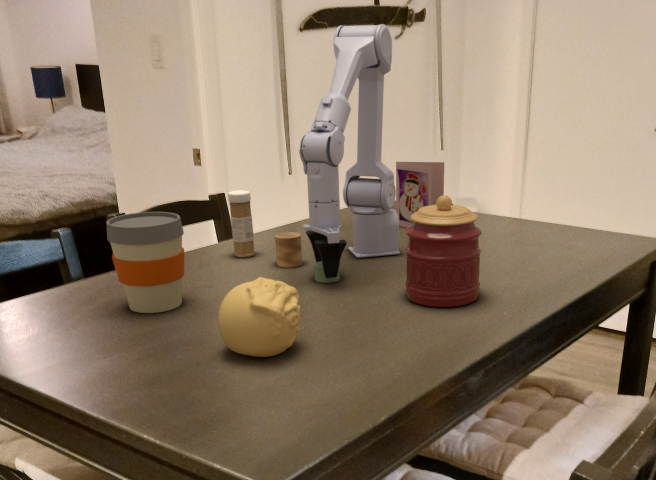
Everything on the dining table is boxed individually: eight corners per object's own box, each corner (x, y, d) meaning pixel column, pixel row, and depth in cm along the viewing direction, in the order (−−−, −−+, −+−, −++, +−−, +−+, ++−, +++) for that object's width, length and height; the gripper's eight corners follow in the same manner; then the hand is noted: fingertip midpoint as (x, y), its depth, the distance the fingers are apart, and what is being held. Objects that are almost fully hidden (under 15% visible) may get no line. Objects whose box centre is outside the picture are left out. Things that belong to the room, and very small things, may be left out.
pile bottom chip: (299, 259, 159) (299, 245, 157) (304, 266, 154) (303, 251, 153) (275, 261, 157) (274, 247, 156) (279, 268, 153) (278, 253, 152)
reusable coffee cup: (103, 312, 131) (88, 225, 124) (147, 290, 141) (135, 209, 135) (164, 319, 126) (152, 230, 120) (205, 297, 137) (196, 213, 131)
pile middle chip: (293, 245, 158) (292, 230, 157) (306, 250, 154) (305, 235, 153) (271, 249, 155) (270, 234, 154) (284, 254, 151) (282, 239, 150)
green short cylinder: (336, 274, 148) (336, 259, 147) (342, 281, 144) (342, 266, 143) (312, 277, 147) (311, 261, 146) (317, 284, 143) (316, 268, 142)
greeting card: (393, 225, 185) (393, 162, 179) (414, 220, 190) (415, 158, 183) (428, 233, 177) (429, 167, 171) (449, 227, 182) (451, 163, 176)
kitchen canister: (449, 313, 126) (452, 206, 119) (390, 298, 134) (389, 197, 127) (493, 294, 135) (498, 193, 127) (435, 281, 143) (437, 185, 135)
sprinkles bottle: (248, 251, 166) (242, 188, 160) (259, 255, 162) (254, 191, 157) (229, 255, 163) (223, 191, 157) (240, 259, 160) (234, 194, 154)
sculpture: (291, 366, 107) (286, 293, 103) (210, 362, 109) (202, 290, 105) (311, 337, 118) (307, 269, 113) (236, 334, 120) (230, 267, 115)
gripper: (295, 194, 145) (299, 264, 150) (310, 209, 132) (314, 284, 138) (331, 191, 146) (334, 260, 152) (349, 206, 134) (351, 281, 139)
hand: (327, 272), depth 145 cm, fingers open, 6 cm apart
